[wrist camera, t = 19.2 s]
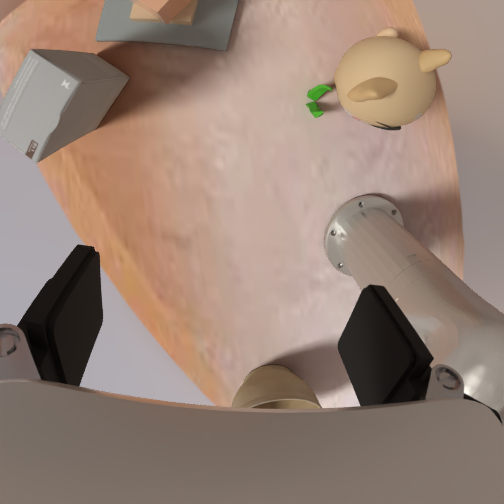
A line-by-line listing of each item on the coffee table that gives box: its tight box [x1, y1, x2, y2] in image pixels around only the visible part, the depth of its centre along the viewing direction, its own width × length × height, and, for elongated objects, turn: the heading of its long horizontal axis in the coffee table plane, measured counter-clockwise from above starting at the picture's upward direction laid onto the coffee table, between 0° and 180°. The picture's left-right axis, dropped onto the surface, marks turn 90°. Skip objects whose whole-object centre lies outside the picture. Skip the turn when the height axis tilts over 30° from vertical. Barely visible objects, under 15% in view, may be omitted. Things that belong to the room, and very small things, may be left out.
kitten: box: [306, 27, 452, 130], centre depth 28 cm, size 15×10×15 cm, turn 124°
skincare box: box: [0, 49, 130, 163], centre depth 25 cm, size 8×7×16 cm
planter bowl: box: [232, 365, 322, 409], centre depth 53 cm, size 16×16×11 cm
